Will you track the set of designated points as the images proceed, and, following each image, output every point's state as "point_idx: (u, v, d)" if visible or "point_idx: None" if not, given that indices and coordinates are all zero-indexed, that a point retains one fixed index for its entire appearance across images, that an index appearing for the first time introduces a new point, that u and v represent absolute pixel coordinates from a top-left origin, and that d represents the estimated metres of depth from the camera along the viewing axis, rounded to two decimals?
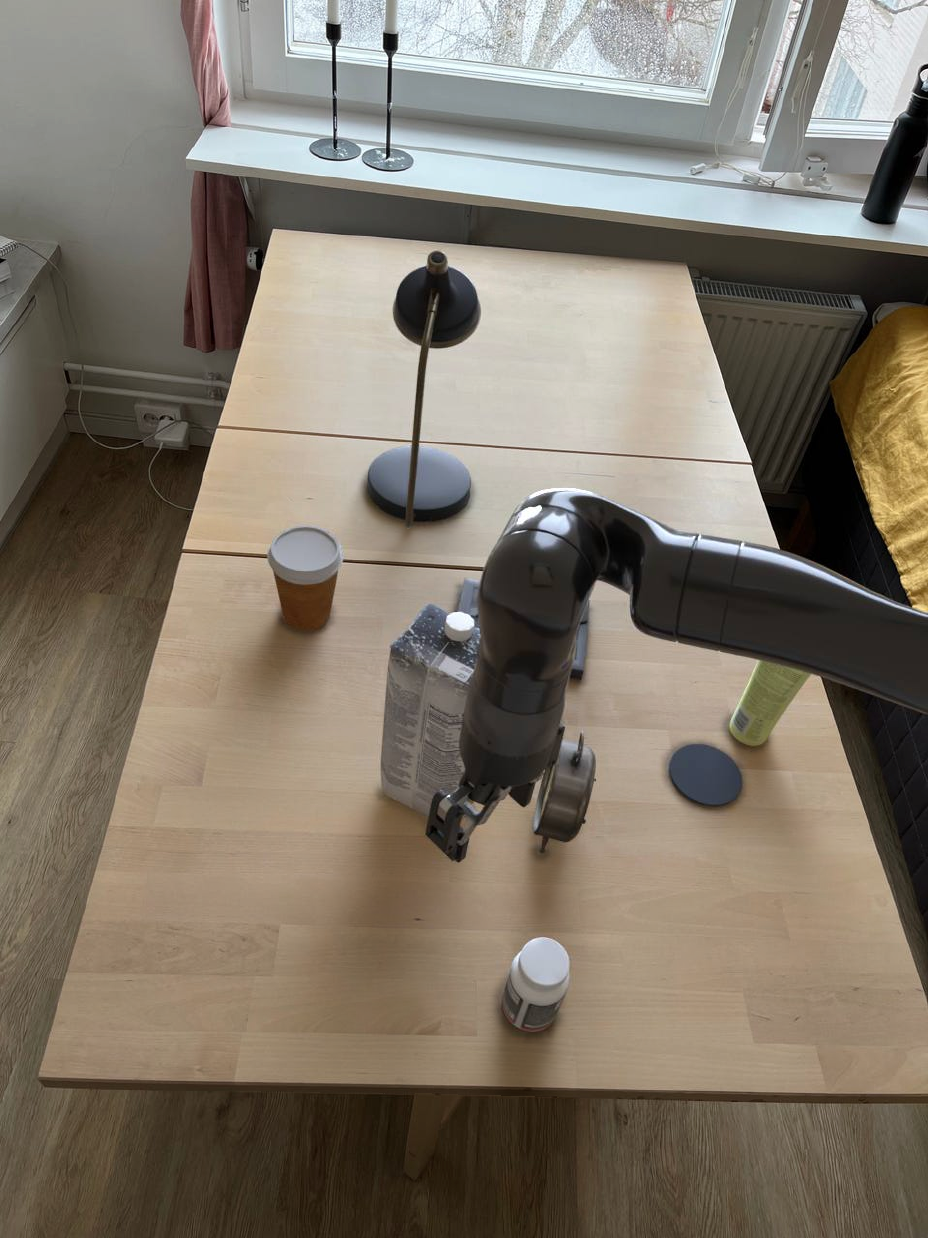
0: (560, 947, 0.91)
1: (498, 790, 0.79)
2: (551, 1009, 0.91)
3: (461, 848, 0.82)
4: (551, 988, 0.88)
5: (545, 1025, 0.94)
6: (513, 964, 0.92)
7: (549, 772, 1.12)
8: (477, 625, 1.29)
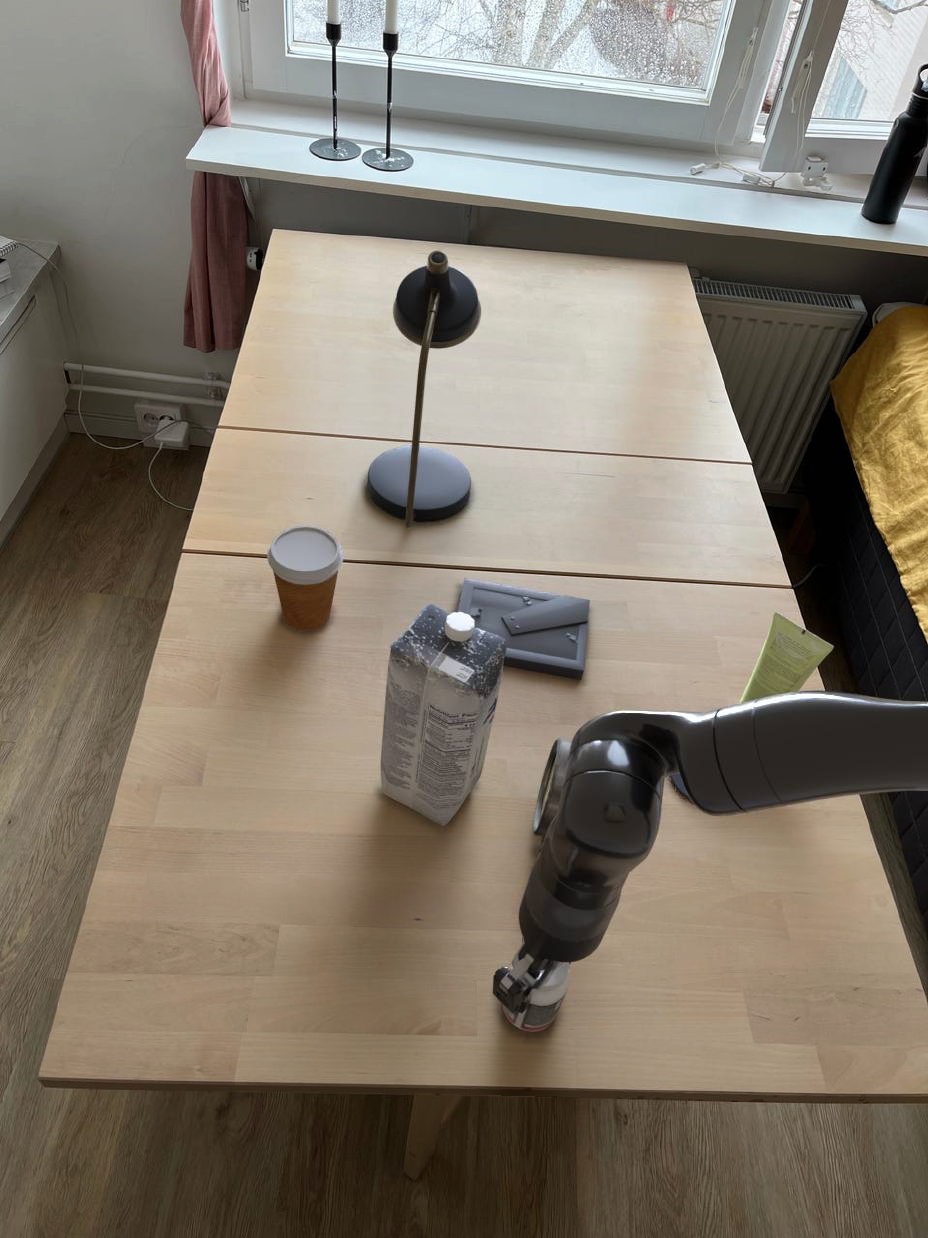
0: None
1: (555, 960, 0.84)
2: (551, 1009, 0.91)
3: (525, 1003, 0.88)
4: (551, 988, 0.88)
5: (545, 1025, 0.94)
6: None
7: (549, 772, 1.12)
8: (477, 625, 1.29)
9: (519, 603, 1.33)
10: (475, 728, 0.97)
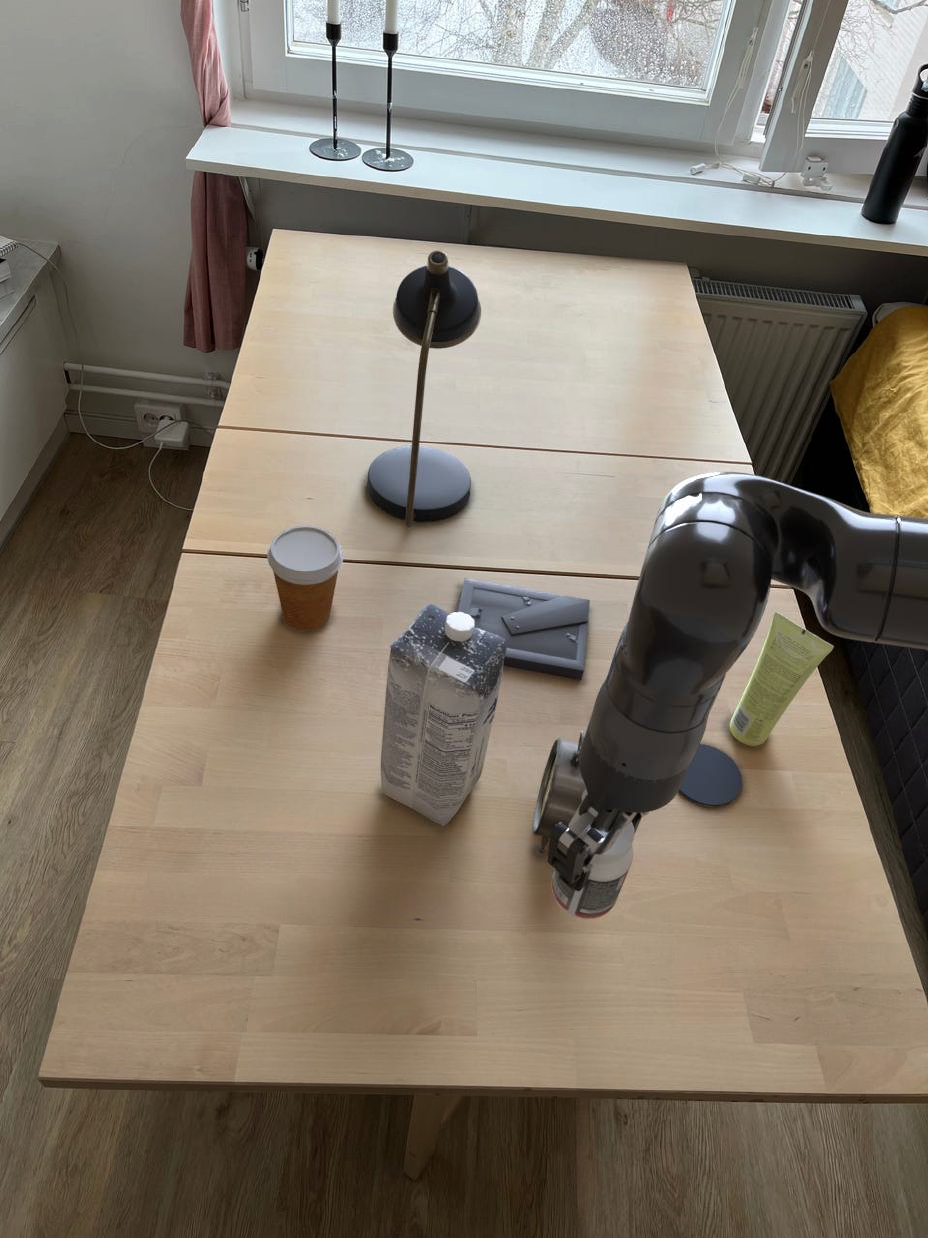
0: None
1: (622, 816, 0.70)
2: (612, 887, 0.77)
3: (583, 876, 0.75)
4: (614, 858, 0.75)
5: (604, 911, 0.80)
6: None
7: (549, 772, 1.12)
8: (477, 625, 1.29)
9: (519, 603, 1.33)
10: (475, 728, 0.97)
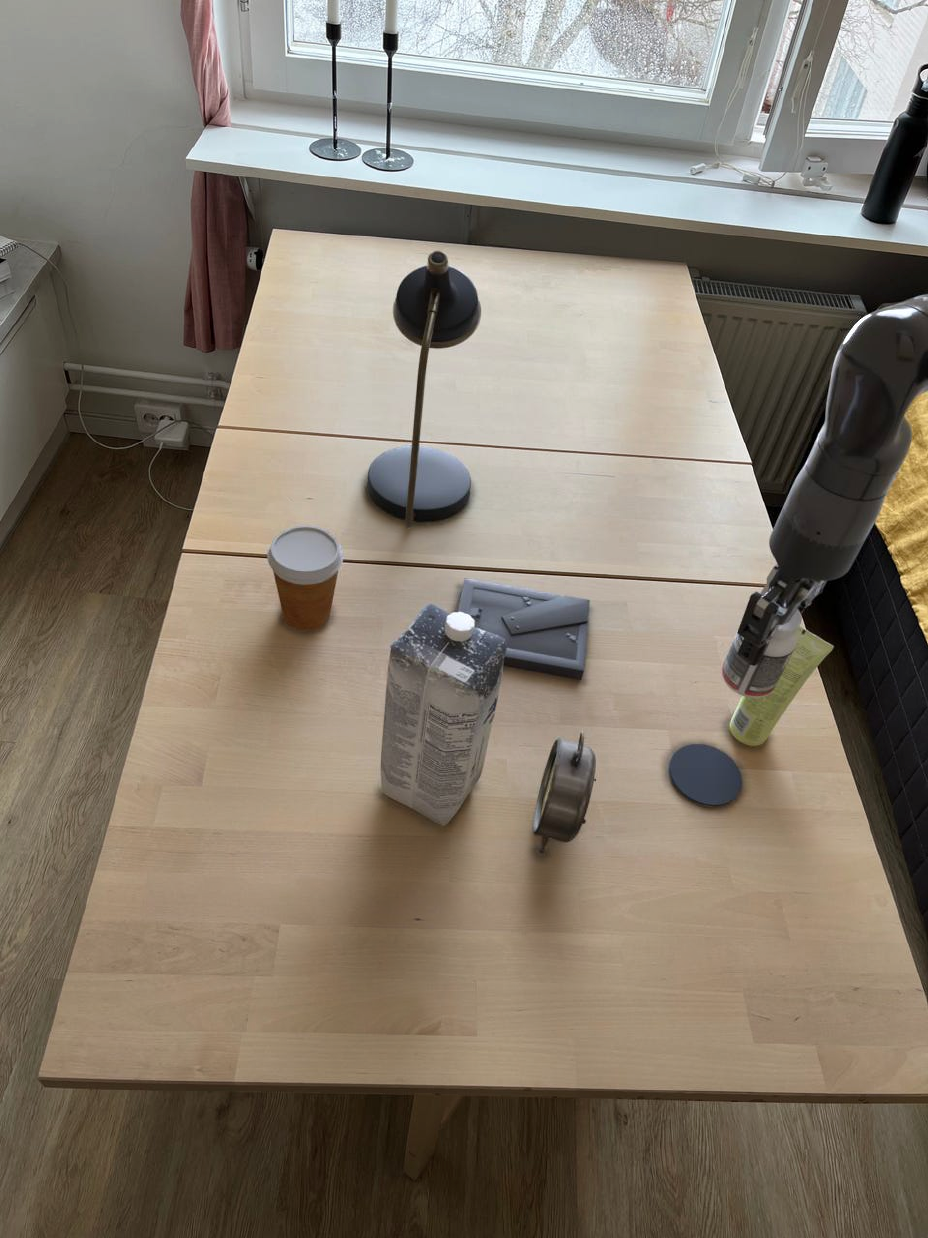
0: None
1: (803, 590, 0.88)
2: (780, 664, 0.95)
3: (762, 649, 0.93)
4: (787, 634, 0.93)
5: (768, 689, 0.98)
6: None
7: (549, 772, 1.12)
8: (477, 625, 1.29)
9: (519, 603, 1.33)
10: (475, 728, 0.97)
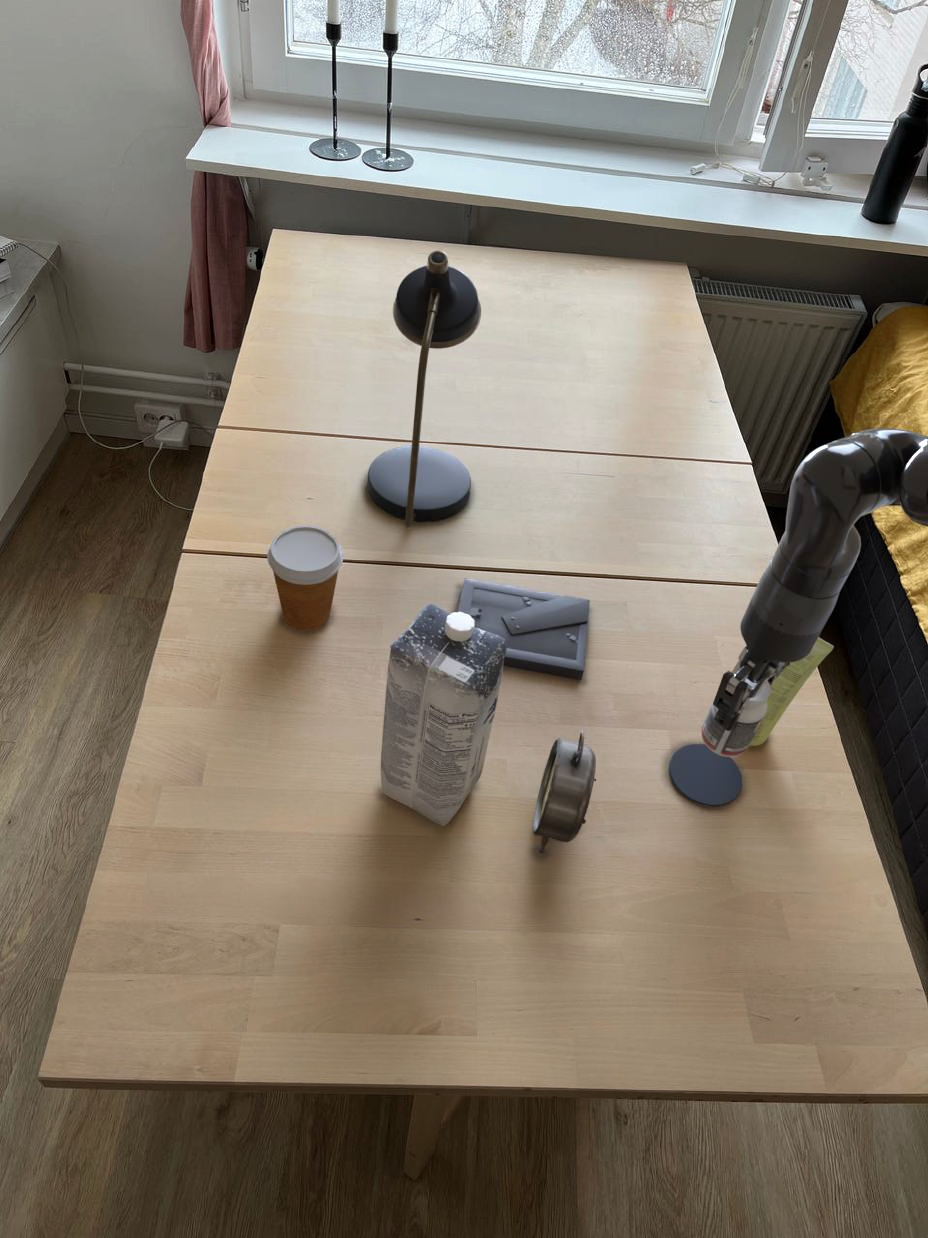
0: None
1: (770, 668, 1.00)
2: (752, 729, 1.07)
3: (735, 717, 1.05)
4: (757, 704, 1.05)
5: (742, 750, 1.10)
6: None
7: (549, 772, 1.12)
8: (477, 625, 1.29)
9: (519, 603, 1.33)
10: (475, 728, 0.97)
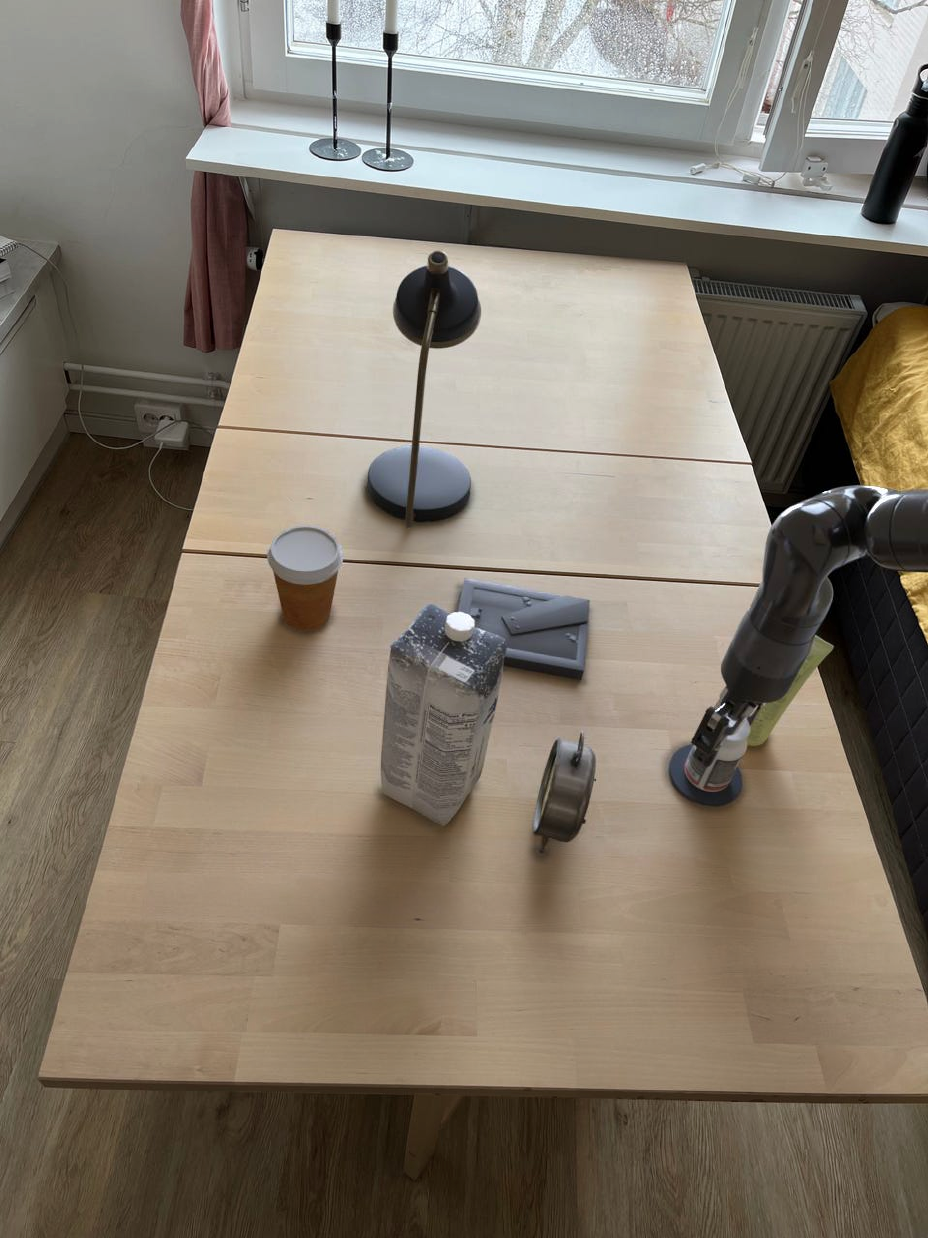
0: None
1: (749, 708, 1.05)
2: (733, 766, 1.13)
3: (713, 754, 1.09)
4: (737, 744, 1.10)
5: (723, 785, 1.15)
6: None
7: (549, 772, 1.12)
8: (477, 625, 1.29)
9: (519, 603, 1.33)
10: (475, 728, 0.97)
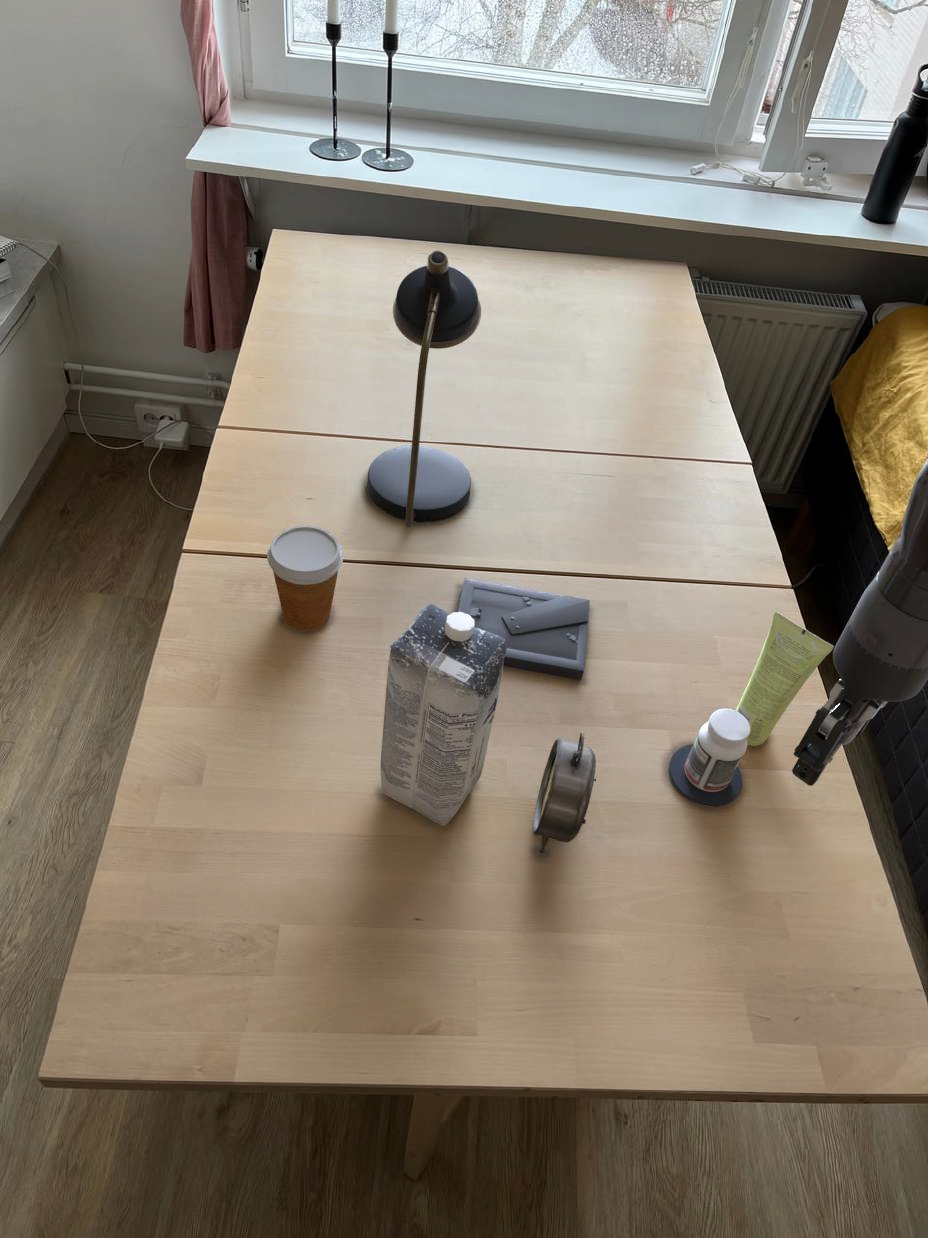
0: (741, 715, 1.12)
1: (870, 709, 0.81)
2: (733, 766, 1.13)
3: (820, 769, 0.85)
4: (737, 744, 1.10)
5: (723, 785, 1.15)
6: (701, 731, 1.13)
7: (549, 772, 1.12)
8: (477, 625, 1.29)
9: (519, 603, 1.33)
10: (475, 728, 0.97)
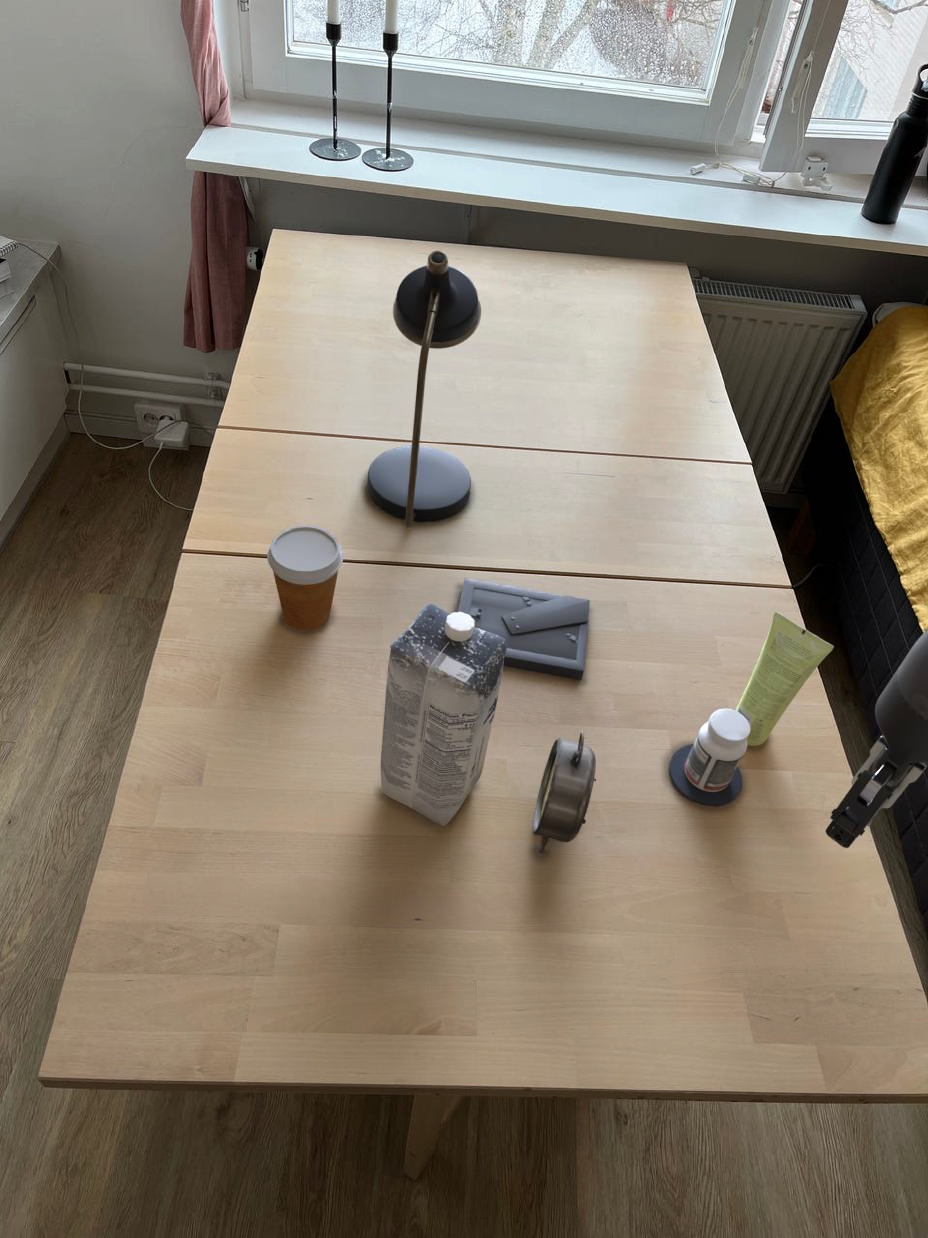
0: (741, 715, 1.12)
1: (915, 770, 0.74)
2: (733, 766, 1.13)
3: None
4: (737, 744, 1.10)
5: (723, 785, 1.15)
6: (701, 731, 1.13)
7: (549, 772, 1.12)
8: (477, 625, 1.29)
9: (519, 603, 1.33)
10: (475, 728, 0.97)
